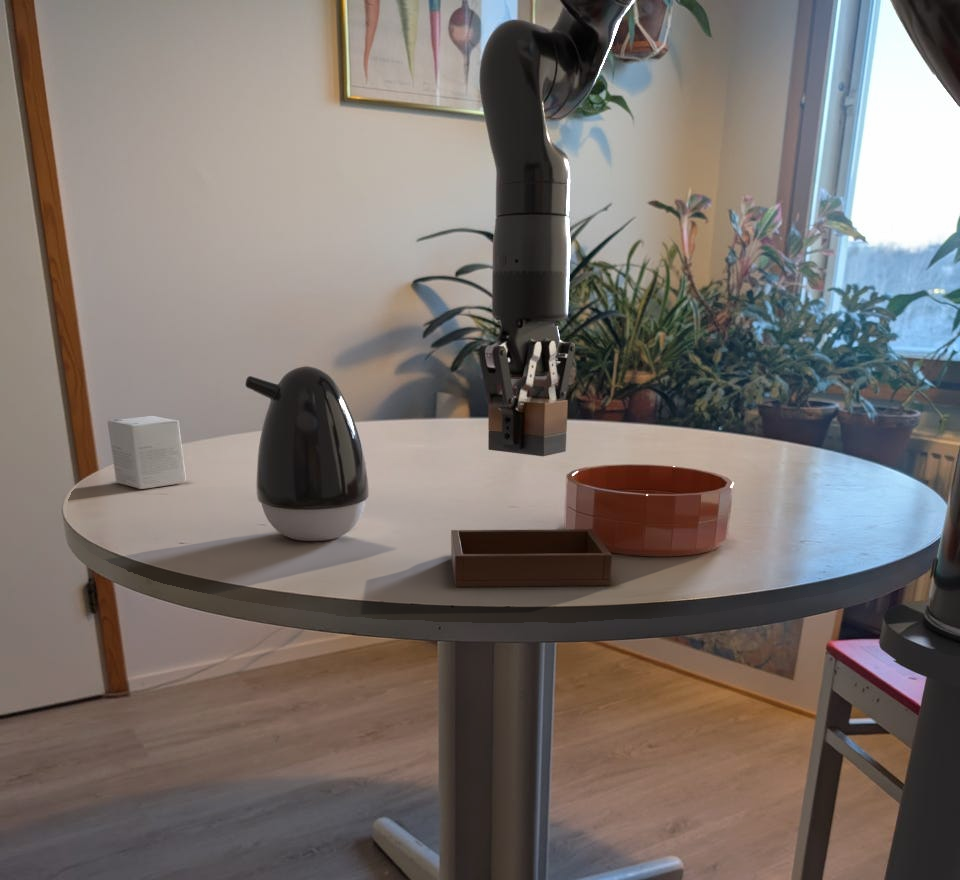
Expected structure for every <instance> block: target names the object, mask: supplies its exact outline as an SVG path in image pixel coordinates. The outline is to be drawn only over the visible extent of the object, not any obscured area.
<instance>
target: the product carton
mask: <svg viewBox="0 0 960 880" xmlns="http://www.w3.org/2000/svg"><path fill="white" fill-rule="evenodd" d="M107 430H108V435H109V442H110V449H111V455H112V461H113V462H112V463H113V468H114V476H115V481H116V483H117V484H120V485H124V486H127V487H128V486H129V487H132V488H134V489H138V490H143V489H144V490H145V489H151V488H158V487H165V486H172V485H179V484H183V483H186V482H187V477H186V470H185V461H184V452H183V445H182V438H181V431H180V422H179V420H177V419H170V418H164V417H160V416H155V415H147V416H138V417H129V418H118V419H110V420H107Z"/></svg>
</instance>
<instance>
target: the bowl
mask: <svg viewBox="0 0 960 880" xmlns="http://www.w3.org/2000/svg"><path fill="white" fill-rule="evenodd" d="M734 487H735V483H734V481H732V480H731V479H730V478H729V477H727V476H725V475H722V474H719V473H716V472H712V471H708V470H702V469H698V468H693V467H692V468H691V467H685V466H677V465H664V464H663V465H662V464H649V463H648V464H647V463H645V464H644V463H642V464H641V463H619V464H617V463H616V464H601V465H594V466H593V465H592V466H584V467H581V468H577V469H573V470H571V471H570V472H568V473H566V475H565V491H564V492H565V494H564V495H565V496H564V512H563V513H564V515H563V527H564V529H585V530H586V529H592V530H593V531H594V532H595V534H596V535H597V536H598V538H599V539H600V540H601V542H602V543H603V544H604V545H605V547H606V548H607V549H608V551H609V552H610V553H611V554H620V555H628V556H635V557H637V556H639V557H663V558H664V557H667V558H669V557H684V556H692V555H699V554H705V553H709V552H711V551H713V550H716V549H718V548H719V547H721V546H722V544H723V542H725V541H726V540H727V538H728V535H729V529H730V519H731V513H732V503H733V494H734Z"/></svg>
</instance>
